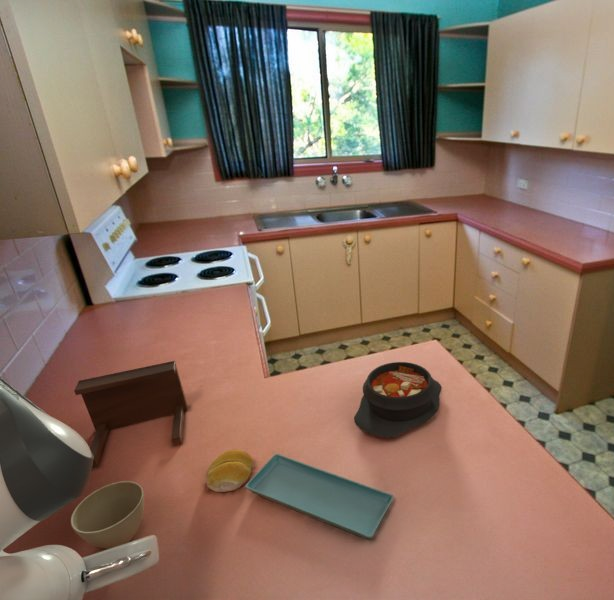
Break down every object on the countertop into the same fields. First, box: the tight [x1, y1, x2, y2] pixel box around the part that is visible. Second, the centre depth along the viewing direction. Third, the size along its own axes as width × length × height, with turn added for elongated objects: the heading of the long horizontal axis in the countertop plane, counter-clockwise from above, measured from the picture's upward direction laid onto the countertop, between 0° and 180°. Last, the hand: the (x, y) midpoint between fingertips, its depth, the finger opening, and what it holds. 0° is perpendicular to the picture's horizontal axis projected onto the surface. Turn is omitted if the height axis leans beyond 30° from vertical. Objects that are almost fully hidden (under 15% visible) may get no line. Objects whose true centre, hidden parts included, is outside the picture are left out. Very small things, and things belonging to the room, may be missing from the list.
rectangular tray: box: [244, 453, 395, 540], centre depth 77 cm, size 26×9×2 cm, turn 66°
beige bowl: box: [70, 480, 145, 550], centre depth 70 cm, size 10×10×7 cm
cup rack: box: [73, 360, 189, 469], centre depth 92 cm, size 14×19×13 cm
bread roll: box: [205, 449, 254, 493], centre depth 82 cm, size 8×9×4 cm
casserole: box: [353, 361, 442, 439], centre depth 99 cm, size 25×19×8 cm
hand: (84, 571), depth 57 cm, fingers closed
